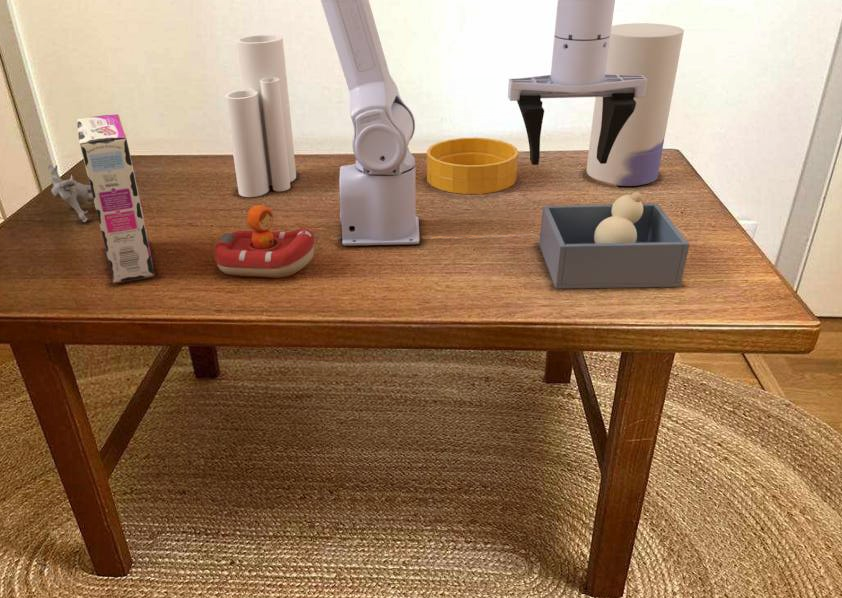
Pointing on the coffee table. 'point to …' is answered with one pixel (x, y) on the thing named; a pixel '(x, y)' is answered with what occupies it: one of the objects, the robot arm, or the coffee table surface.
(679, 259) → the bin
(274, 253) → the toy boat
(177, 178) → the coffee table surface
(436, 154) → the bowl
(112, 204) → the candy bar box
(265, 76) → the vase
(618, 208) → the beige rounded figure
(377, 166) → the robot arm
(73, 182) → the elephant figurine
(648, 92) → the container
